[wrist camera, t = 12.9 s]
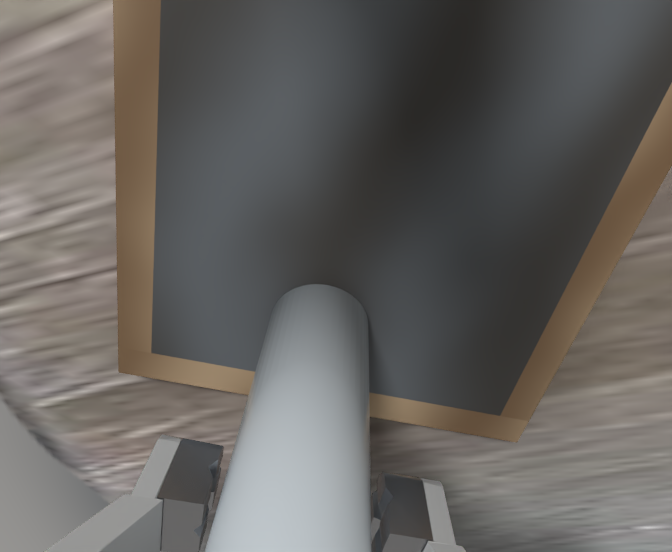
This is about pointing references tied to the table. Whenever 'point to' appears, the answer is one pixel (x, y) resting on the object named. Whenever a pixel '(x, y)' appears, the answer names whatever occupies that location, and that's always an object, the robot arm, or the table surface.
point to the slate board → (384, 184)
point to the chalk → (303, 434)
